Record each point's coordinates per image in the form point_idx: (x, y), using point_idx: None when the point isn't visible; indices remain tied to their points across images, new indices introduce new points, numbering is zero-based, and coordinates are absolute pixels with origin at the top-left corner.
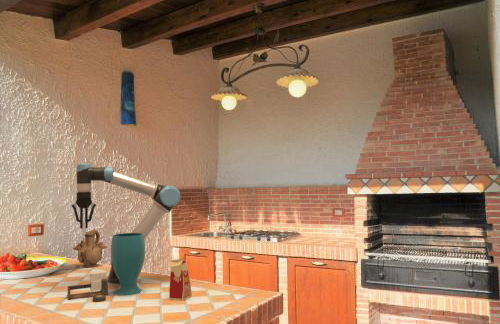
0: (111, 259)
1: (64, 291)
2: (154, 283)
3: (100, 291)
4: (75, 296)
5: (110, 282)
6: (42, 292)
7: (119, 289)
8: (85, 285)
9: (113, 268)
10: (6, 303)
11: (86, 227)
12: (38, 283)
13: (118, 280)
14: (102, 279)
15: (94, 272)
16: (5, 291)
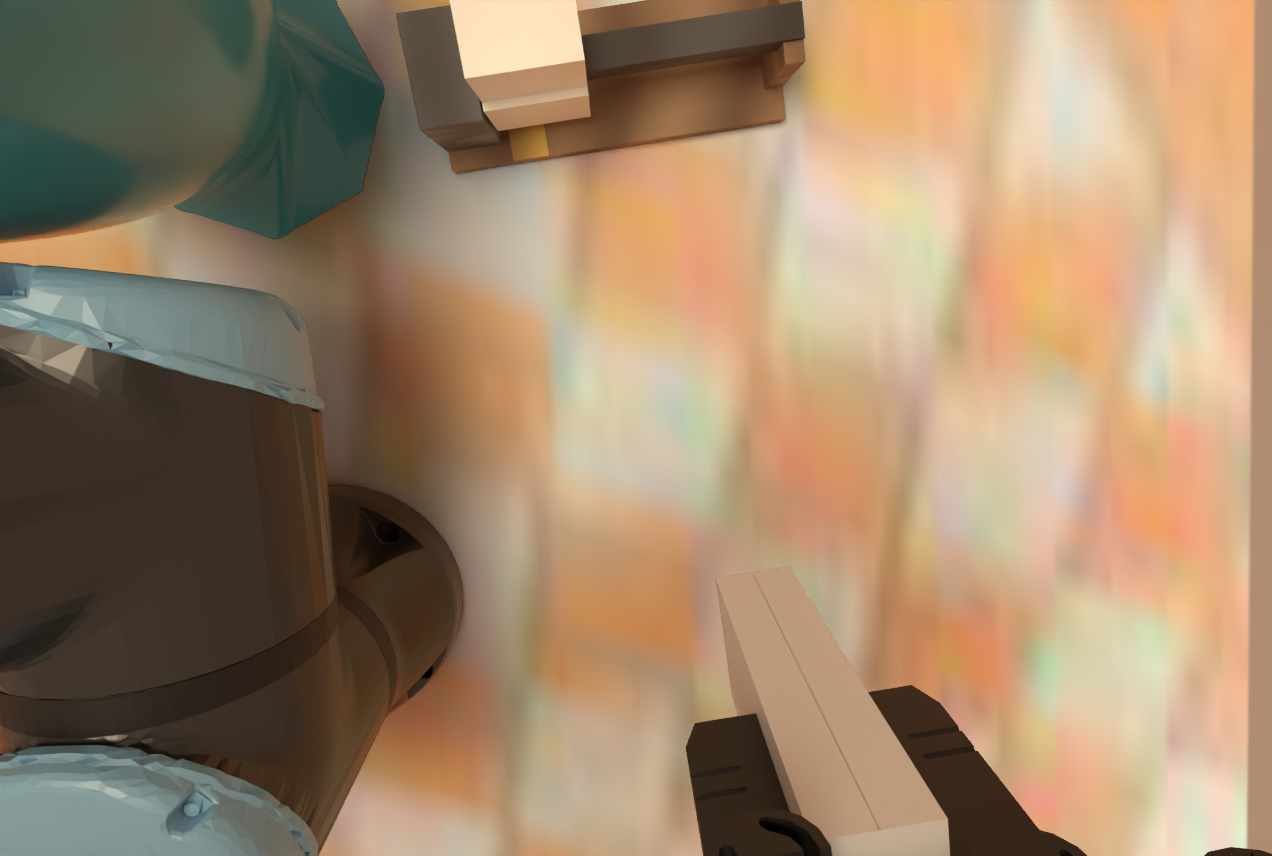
0: (313, 386)
1: (809, 340)
2: None
3: (500, 134)
4: (712, 12)
5: (438, 533)
6: (978, 370)
7: (311, 41)
8: (631, 28)
9: (372, 598)
10: (1239, 74)
11: (727, 739)
12: (1012, 707)
13: (356, 496)
14: (460, 121)
15: (534, 65)
16: (1242, 512)
